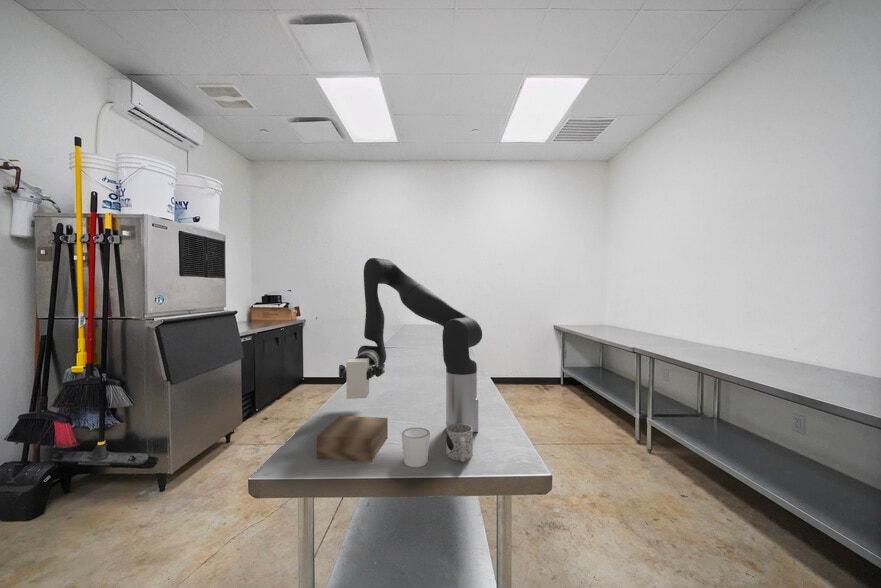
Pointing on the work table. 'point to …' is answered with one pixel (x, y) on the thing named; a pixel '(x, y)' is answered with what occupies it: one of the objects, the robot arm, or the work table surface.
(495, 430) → the work table surface
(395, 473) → the work table surface
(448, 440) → the mug
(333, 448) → the walnut block
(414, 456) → the shot glass
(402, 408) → the work table surface
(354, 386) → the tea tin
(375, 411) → the work table surface
